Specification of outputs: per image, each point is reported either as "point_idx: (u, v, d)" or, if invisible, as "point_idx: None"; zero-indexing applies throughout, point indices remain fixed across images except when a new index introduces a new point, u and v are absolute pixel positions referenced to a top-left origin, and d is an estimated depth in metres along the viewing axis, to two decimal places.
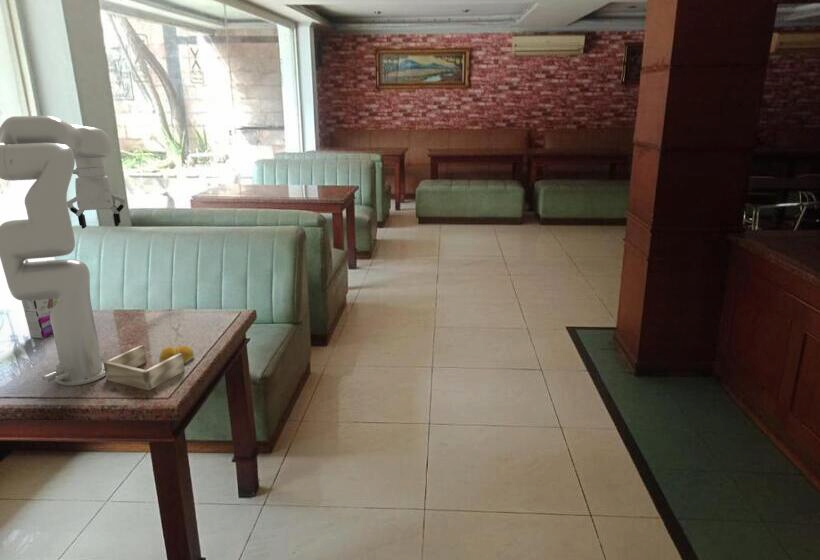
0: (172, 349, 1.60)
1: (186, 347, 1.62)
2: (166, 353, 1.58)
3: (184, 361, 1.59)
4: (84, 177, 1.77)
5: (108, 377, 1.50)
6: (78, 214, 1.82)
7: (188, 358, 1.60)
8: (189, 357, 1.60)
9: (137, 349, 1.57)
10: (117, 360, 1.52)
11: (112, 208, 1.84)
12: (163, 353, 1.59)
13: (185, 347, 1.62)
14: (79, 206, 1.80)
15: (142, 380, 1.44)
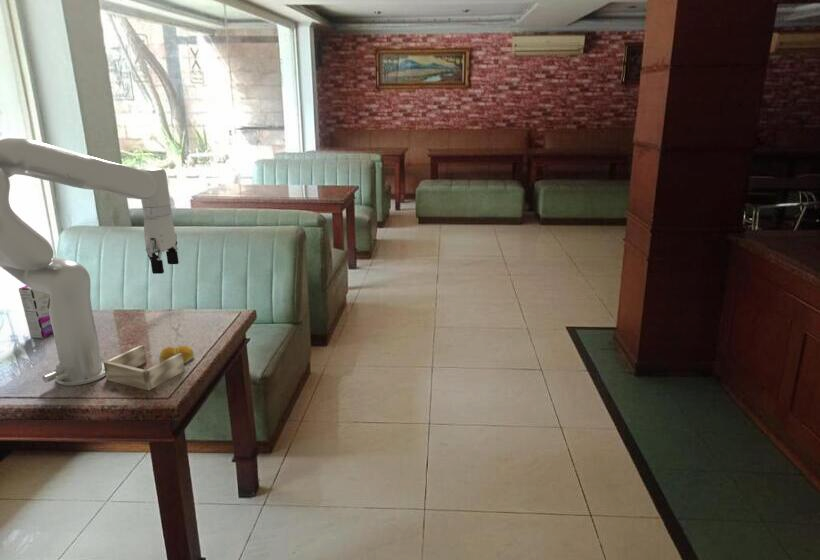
0: (172, 349, 1.60)
1: (186, 347, 1.62)
2: (166, 353, 1.58)
3: (184, 361, 1.59)
4: None
5: (108, 377, 1.50)
6: None
7: (188, 358, 1.60)
8: (189, 357, 1.60)
9: (137, 349, 1.57)
10: (117, 360, 1.52)
11: None
12: (163, 353, 1.59)
13: (185, 347, 1.62)
14: None
15: (142, 380, 1.44)
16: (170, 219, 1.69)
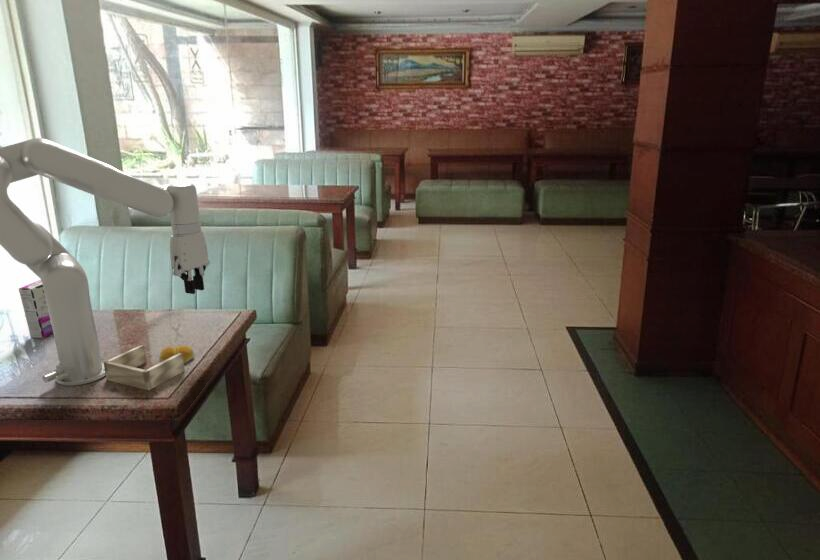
0: (172, 349, 1.60)
1: (186, 347, 1.62)
2: (166, 353, 1.59)
3: (184, 361, 1.59)
4: None
5: (108, 377, 1.50)
6: None
7: (188, 358, 1.60)
8: (189, 357, 1.60)
9: (137, 349, 1.57)
10: (117, 360, 1.52)
11: None
12: (163, 353, 1.59)
13: (185, 347, 1.62)
14: None
15: (142, 380, 1.44)
16: (200, 237, 1.62)
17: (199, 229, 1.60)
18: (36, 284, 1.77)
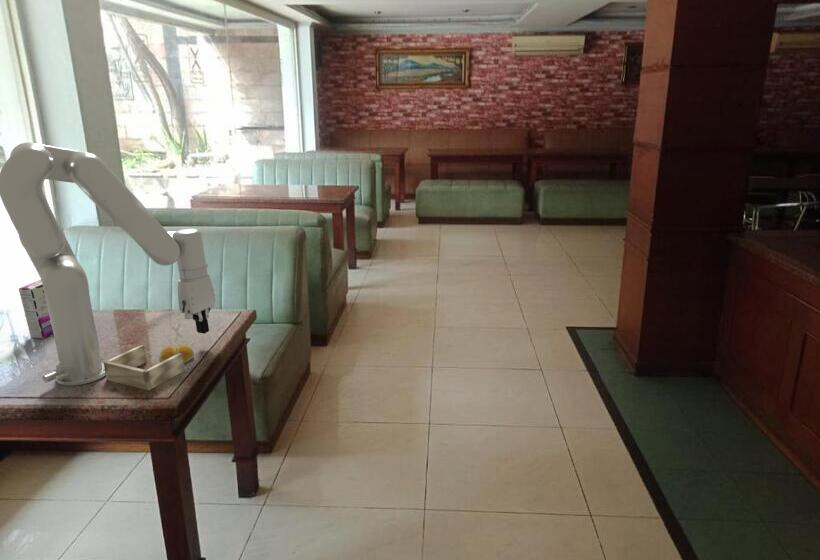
0: (172, 349, 1.60)
1: (186, 347, 1.62)
2: (166, 353, 1.59)
3: (184, 361, 1.59)
4: None
5: (108, 377, 1.50)
6: None
7: (188, 358, 1.60)
8: (189, 357, 1.60)
9: (137, 349, 1.57)
10: (117, 360, 1.52)
11: None
12: (163, 353, 1.59)
13: (185, 346, 1.62)
14: None
15: (142, 380, 1.44)
16: (207, 280, 1.66)
17: (205, 273, 1.64)
18: (36, 284, 1.77)
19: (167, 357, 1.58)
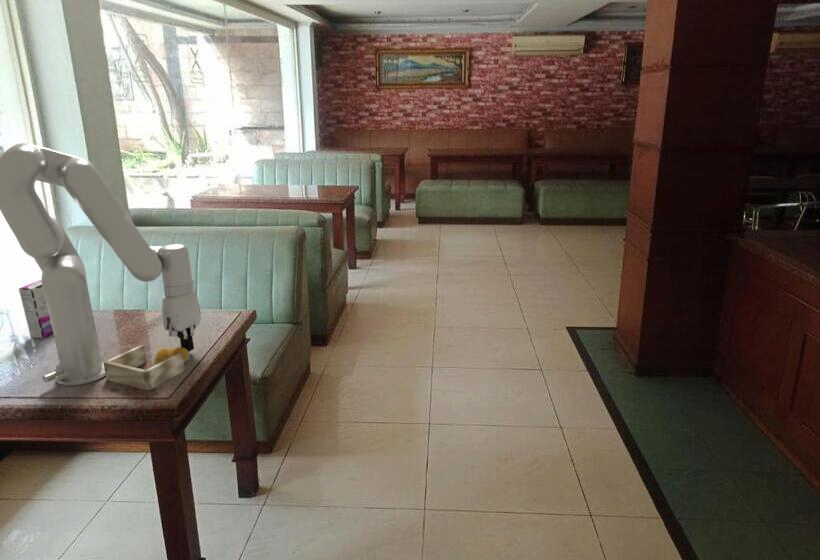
0: (167, 350, 1.59)
1: (181, 348, 1.61)
2: (161, 355, 1.57)
3: None
4: None
5: (108, 377, 1.50)
6: None
7: (183, 360, 1.58)
8: (184, 359, 1.59)
9: (137, 349, 1.57)
10: (117, 360, 1.52)
11: None
12: (158, 354, 1.58)
13: (181, 348, 1.60)
14: None
15: (142, 380, 1.44)
16: (193, 297, 1.62)
17: (191, 290, 1.60)
18: (36, 284, 1.77)
19: (162, 359, 1.56)
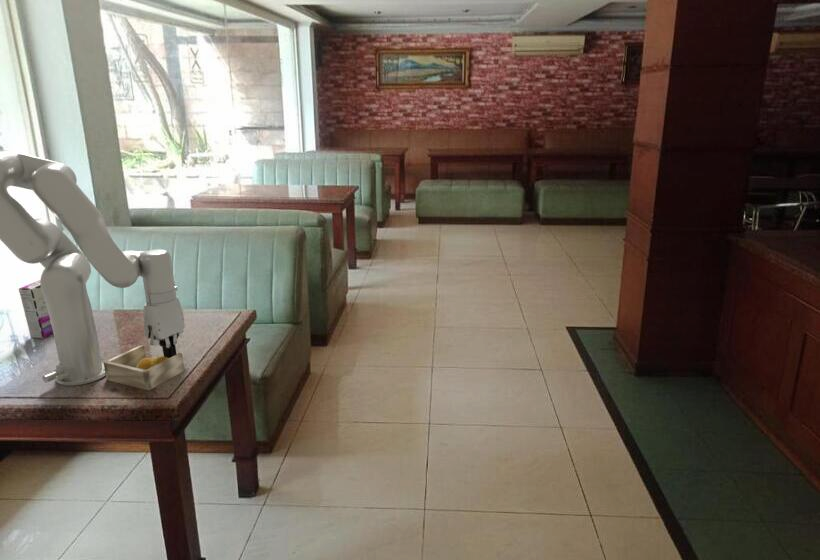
0: (149, 360, 1.53)
1: (164, 358, 1.55)
2: (142, 365, 1.52)
3: None
4: None
5: (108, 377, 1.50)
6: None
7: None
8: None
9: (137, 349, 1.57)
10: (117, 360, 1.52)
11: None
12: (139, 364, 1.52)
13: (163, 358, 1.55)
14: None
15: (142, 380, 1.44)
16: (175, 304, 1.56)
17: (174, 297, 1.54)
18: (36, 284, 1.77)
19: None
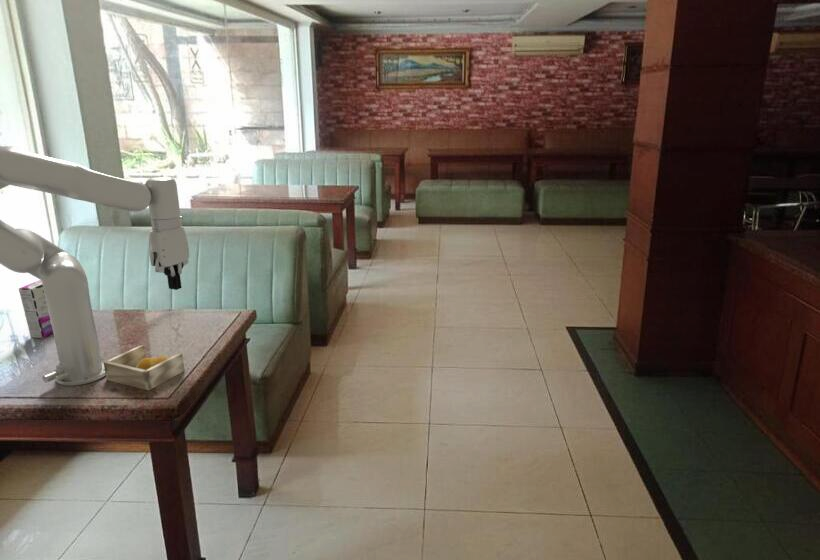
0: (149, 360, 1.53)
1: (164, 358, 1.55)
2: (142, 365, 1.52)
3: None
4: None
5: (108, 377, 1.50)
6: None
7: None
8: None
9: (137, 349, 1.57)
10: (117, 360, 1.52)
11: None
12: (139, 364, 1.52)
13: (163, 358, 1.55)
14: None
15: (142, 380, 1.44)
16: (181, 233, 1.58)
17: (179, 225, 1.56)
18: (36, 284, 1.77)
19: None
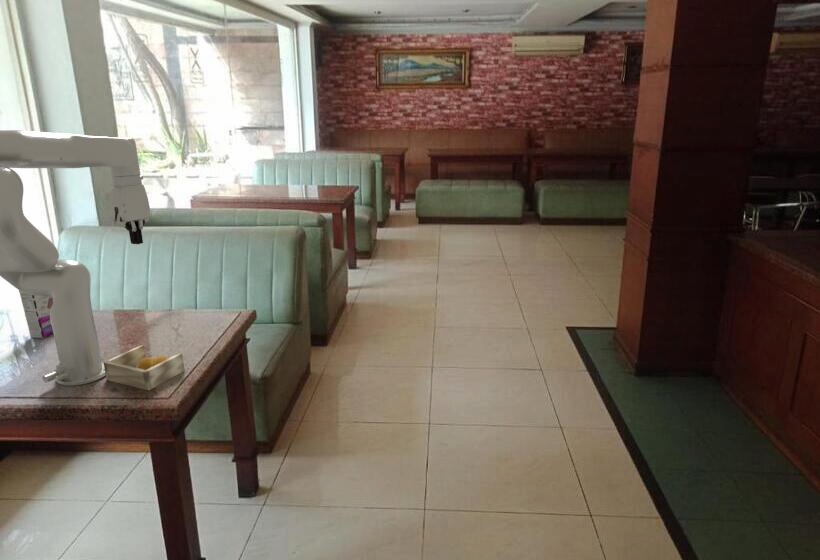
0: (149, 360, 1.54)
1: (164, 358, 1.55)
2: (142, 364, 1.52)
3: None
4: None
5: (108, 377, 1.50)
6: None
7: None
8: None
9: (137, 349, 1.57)
10: (117, 360, 1.52)
11: None
12: (139, 364, 1.52)
13: (163, 358, 1.55)
14: None
15: (142, 380, 1.44)
16: (141, 190, 1.68)
17: (139, 182, 1.66)
18: None
19: None
